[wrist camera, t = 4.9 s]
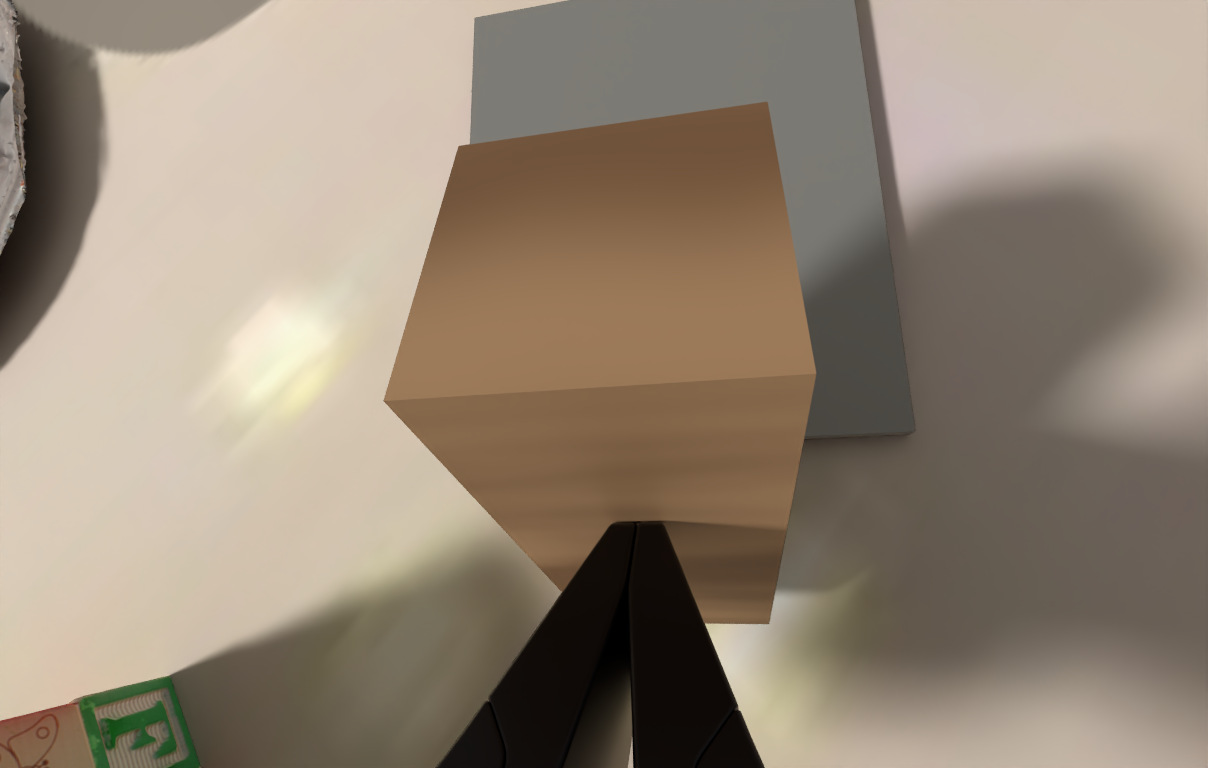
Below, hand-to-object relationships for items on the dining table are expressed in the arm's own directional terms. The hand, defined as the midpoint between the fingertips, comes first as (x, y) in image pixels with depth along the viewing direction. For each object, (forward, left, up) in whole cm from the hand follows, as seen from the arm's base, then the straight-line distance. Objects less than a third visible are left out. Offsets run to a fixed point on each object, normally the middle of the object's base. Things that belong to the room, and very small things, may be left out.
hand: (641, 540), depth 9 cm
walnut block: (0, 0, -7) cm, 7 cm away
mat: (+9, -5, -8) cm, 13 cm away
